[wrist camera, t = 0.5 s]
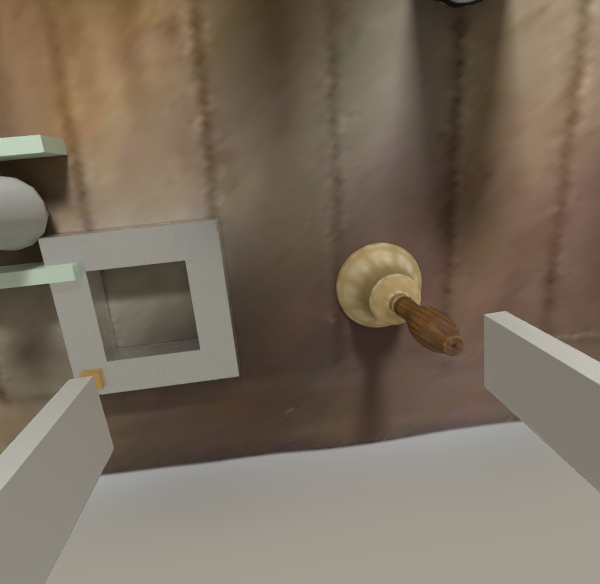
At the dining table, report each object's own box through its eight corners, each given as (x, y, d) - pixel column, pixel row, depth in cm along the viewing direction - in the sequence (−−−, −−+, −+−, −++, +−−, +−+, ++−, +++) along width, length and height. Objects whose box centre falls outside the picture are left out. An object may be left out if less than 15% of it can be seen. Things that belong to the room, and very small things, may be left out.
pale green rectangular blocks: (-53, 149, 34) (-92, 146, 30) (63, 139, 35) (40, 134, 31) (-13, 281, 37) (-44, 293, 33) (93, 269, 38) (75, 280, 34)
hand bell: (329, 251, 39) (377, 298, 24) (416, 234, 40) (517, 270, 25) (342, 334, 42) (393, 425, 26) (424, 317, 42) (521, 397, 27)
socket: (54, 234, 37) (34, 239, 33) (219, 216, 38) (215, 220, 34) (91, 381, 40) (76, 400, 37) (240, 362, 41) (238, 378, 38)
